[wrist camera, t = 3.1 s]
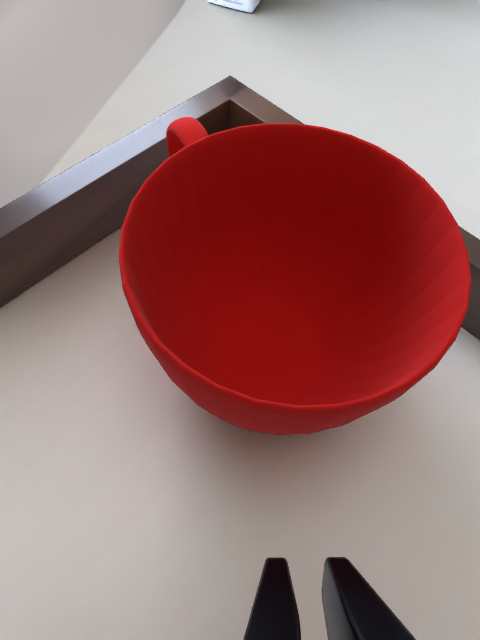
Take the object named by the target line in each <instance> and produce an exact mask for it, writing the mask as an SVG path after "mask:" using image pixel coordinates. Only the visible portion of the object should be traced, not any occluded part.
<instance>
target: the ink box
mask: <svg viewBox="0 0 480 640" xmlns="http://www.w3.org/2000/svg"><path fill="white" fill-rule="evenodd" d="M260 1H261V0H208V2H210V3H214V4H218V5H221V6H225V7H229V8H233V9H237V10H241V11H245V12H253V11H254V9H255V8H256V7H257V5H258V4H259V2H260Z"/></svg>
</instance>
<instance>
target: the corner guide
mask: <svg viewBox="0 0 480 640" xmlns="http://www.w3.org/2000/svg"><path fill="white" fill-rule="evenodd" d="M182 117H192V118H194V119H196V120H198V121H199V122H200V123H201V124H202V126H203V127H204V128H205V130H206V131H207V133H208V135H211V134H214V133H217V132H221V131H225V130H228V129H232V128H235V127H240V126H248V125H255V124H263V123H297V124H303V123H302V122H300V121H299V120H297V119H295V118H294V117H292V116H291V115H289V114H288V113H286V112H285V111H283V110H282V109H280V108H279V107H277V106H276V105H274V104H273V103H271V102H270V101H268V100H267V99H265V98H264V97H262V96H261V95H259V94H257V93H256V92H254V91H253V90H251V89H250V88H248V87H247V86H245V85H244V84H242V83H241V82H239V81H238V80H236V79H235V78H233V77H232V76H228V77H227V78H225V79H223V80H222V81H220V82H218V83H216V84H215V85H213V86H211V87H209V88H208V89H206V90H204V91H203V92H201V93H199V94H197V95H196V96H194V97H192V98H190V99H189V100H187V101H185V102H183V103H182V104H180V105H178V106H177V107H175V108H173V109H171V110H170V111H168V112H166V113H164V114H163V115H161V116H159V117H158V118H156V119H154V120H152V121H151V122H149V123H147V124H145V125H144V126H142V127H140V128H138V129H137V130H135V131H133V132H132V133H130V134H128V135H126V136H125V137H123V138H121V139H119V140H118V141H116V142H114V143H113V144H111V145H109V146H107V147H106V148H104V149H102V150H100V151H99V152H97V153H95V154H93V155H92V156H90V157H88V158H87V159H85V160H83V161H81V162H80V163H78V164H76V165H74V166H73V167H71V168H69V169H68V170H66V171H64V172H62V173H61V174H59V175H57V176H55V177H54V178H52V179H50V180H48V181H47V182H45V183H43V184H42V185H40V186H38V187H36V188H35V189H33V190H31V191H29V192H28V193H26V194H24V195H23V196H21V197H19V198H17V199H16V200H14V201H12V202H11V203H9V204H7V205H5V206H4V207H2V208H0V307H1V306H3V305H4V304H6V303H7V302H9V301H10V300H12V299H13V298H15V297H16V296H18V295H19V294H21V293H22V292H24V291H25V290H27V289H28V288H30V287H31V286H33V285H34V284H36V283H37V282H39V281H40V280H42V279H43V278H45V277H46V276H48V275H49V274H51V273H52V272H54V271H55V270H57V269H58V268H60V267H61V266H63V265H64V264H66V263H67V262H68V261H70V260H71V259H73V258H74V257H76V256H77V255H79V254H80V253H82V252H83V251H85V250H86V249H88V248H89V247H91V246H92V245H94V244H95V243H97V242H98V241H100V240H101V239H103V238H104V237H106V236H107V235H109V234H110V233H112V232H113V231H115V230H116V229H118V228H119V227H121V226H122V225H123V223H124V220H125V217H126V215H127V212H128V209H129V206H130V204H131V201H132V200H133V198H134V197H135V195H136V194H137V192H138V191H139V189H140V188H141V186H142V185H143V183H144V182H145V180H146V179H147V178H148V177H149V176H150V175H151V174H152V173H153V172H154V171H155V170H156V169H157V168H158V167H159V166H160V165H161V164H162V163H163V162H164V161H165V160H166V159H168V158H169V157H170V156H169V152H168V147H167V140H166V131H167V128H168V126H169V124H170V123H172V122H173V121H175V120H177V119H179V118H182ZM304 125H305V124H304ZM459 229H460V232H461V235H462V237H463V240H464V243H465V246H466V248H467V251H468V258H469V266H470V273H471V287H470V295H469V303H468V310H467V312H466V315H465V317H464V320H463V322H462V325H461V326H462V327H464V328H465V329H466V330H468V331H469V332H470V333H472V334H473V335H474V336H476V337H477V338H478V339H480V240H479V239H478V238H476V237H475V236H473V235H472V234H470V233H469V232H467V231H466V230H464V229H463V228H461V227H459Z"/></svg>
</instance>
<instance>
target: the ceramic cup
mask: <svg viewBox="0 0 480 640" xmlns="http://www.w3.org/2000/svg"><path fill="white" fill-rule="evenodd" d="M166 140H167V147H168V152H169V156H170V157H169V158H168V159H166V160H165V161H164V162H163V163H162V164H161V165H160V166H159V167H158V168H157V169H156V170H155V171H154V172H153V173H152V174H151V175H150V176H149V177H148V178H147V179H146V180H145V182H144V183H143V185H142V186H141V188H140V189H139V191H138V192H137V194H136V195H135V197H134V198H133V200H132V201H131V204H130V206H129V209H128V212H127V215H126V217H125V220H124V223H123V226H122V229H121V239H120V248H119V264H120V272H121V279H122V287H123V291H124V294H125V297H126V299H127V302H128V304H129V307H130V309H131V312H132V315H133V317H134V320H135V322H136V325H137V327H138V329H139V331H140V333H141V335H142V337H143V339H144V340H145V342H146V344H147V345H148V347H149V348H150V350H151V351H152V353H153V354H154V356H155V357H156V359H157V360H158V361H159V363H160V364H161V366H162V367H163V369H164V370H165V372H166V373H167V374H168V376H169V377H170V379H171V380H172V381H173V382H174V383H175V384H176V385H177V386H178V387H179V388H180V389H181V390H182V391H184V392H185V393H186V394H187V395H188V396H189V397H190V398H191V399H192V400H193V401H194V402H195V403H196V404H198V405H199V406H201V407H202V408H204V409H206V410H207V411H209V412H210V413H212V414H213V415H215V416H217V417H218V418H220V419H221V420H224V421H226V422H229V423H231V424H234V425H237V426H239V427H242V428H245V429H247V430H251V431H257V432H263V433H270V434H276V435H286V434H309V433H313V432H318V431H322V430H326V429H330V428H334V427H338V426H342V425H345V424H347V423H350V422H352V421H354V420H356V419H358V418H360V417H362V416H364V415H366V414H368V413H370V412H372V411H375V410H377V409H379V408H381V407H383V406H385V405H386V404H388V403H390V402H392V401H393V400H395V399H397V398H398V397H400V396H401V395H402V394H404V393H405V392H406V391H407V390H409V389H410V388H411V387H412V386H413V385H415V384H416V383H417V382H418V381H420V380H421V379H422V378H423V377H424V376H426V375H427V374H428V373H429V372H430V371H432V370H433V369H434V368H435V367H436V365H437V364H438V363H439V361H440V360H441V359H442V357H443V356H444V355H445V353H446V352H447V350H448V349H449V348H450V346H451V345H452V344H453V342H454V341H455V339H456V337H457V335H458V332H459V330H460V327H461V325H462V322H463V320H464V317H465V315H466V312H467V310H468V303H469V295H470V287H471V273H470V266H469V258H468V251H467V248H466V246H465V243H464V240H463V237H462V235H461V232H460V229H459V226H458V224H457V222H456V221H455V219H454V217H453V216H452V214H451V212H450V211H449V209H448V207H447V206H446V204H445V202H444V201H443V199H442V198H441V197H440V196H439V195H438V194H437V193H436V192H435V190H434V189H433V188H432V187H431V186H430V185H429V184H428V182H427V181H426V180H425V179H424V178H423V177H421V176H420V175H419V174H418V173H416V172H415V171H414V170H413V169H412V168H410V167H409V166H408V165H407V164H405V163H404V162H403V161H402V160H400V159H398V158H397V157H395V156H393V155H391V154H390V153H388V152H386V151H385V150H383V149H381V148H380V147H378V146H376V145H374V144H371V143H369V142H367V141H364V140H362V139H359V138H357V137H355V136H352V135H350V134H346V133H342V132H339V131H335V130H332V129H328V128H324V127H318V126H311V125H304V124H297V123H263V124H255V125H248V126H240V127H235V128H232V129H228V130H225V131H221V132H217V133H214V134H211V135H208V133H207V131H206V130H205V128H204V127H203V126H202V124H201V123H200V122H199V121H198V120H196V119H194V118H192V117H182V118H179V119H177V120H175V121H173V122H172V123H170V124H169V126H168V128H167V131H166Z"/></svg>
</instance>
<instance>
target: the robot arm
mask: <svg viewBox="0 0 480 640" xmlns="http://www.w3.org/2000/svg"><path fill="white" fill-rule="evenodd" d="M322 602H323V609H324V615H325V622H326V628H327V634H328V640H416V639H415V638H414V637H413V635H412V634H411V633H410V632H409V631H408V630H407V628H406V627H405V626H404V625H403V624H402V622H401V621H400V620H399V619H398V618H397V616H396V615H395V614H394V613H393V612H392V611H391V609H390V608H389V607H388V606H387V605H386V603H385V602H384V601H383V600H382V599H381V598H380V596H379V595H378V594H377V593H376V592H375V590H374V589H373V588H372V587H371V586H370V585H369V583H368V582H367V581H366V580H365V579H364V577H363V576H362V575H361V574H360V573H359V572H358V570H357V569H356V568H355V567H354V566H353V564H352V563H351V562H350V561H349V560H348V559H347V558H345V557H328V558H327V559H326V560H325V564H324V572H323V581H322ZM243 640H301V630H300V620H299V614H298V609H297V604H296V599H295V595H294V590H293V585H292V581H291V576H290V571H289V566H288V562H287V560H286V559H285V558H267V559H266V561H265V564H264V567H263V571H262V575H261V578H260V582H259V585H258V589H257V593H256V596H255V600H254V603H253V607H252V610H251V614H250V618H249V621H248V625H247V628H246V632H245V636H244V639H243Z"/></svg>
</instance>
